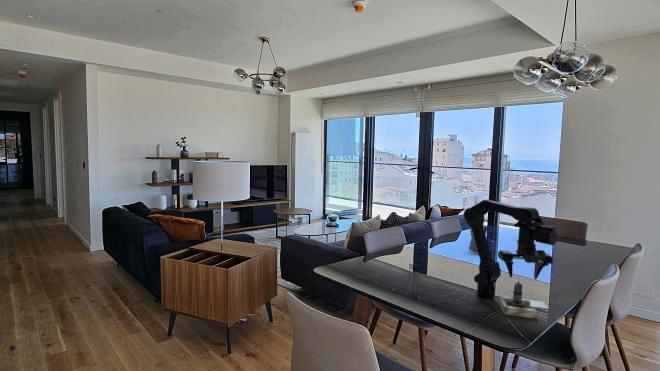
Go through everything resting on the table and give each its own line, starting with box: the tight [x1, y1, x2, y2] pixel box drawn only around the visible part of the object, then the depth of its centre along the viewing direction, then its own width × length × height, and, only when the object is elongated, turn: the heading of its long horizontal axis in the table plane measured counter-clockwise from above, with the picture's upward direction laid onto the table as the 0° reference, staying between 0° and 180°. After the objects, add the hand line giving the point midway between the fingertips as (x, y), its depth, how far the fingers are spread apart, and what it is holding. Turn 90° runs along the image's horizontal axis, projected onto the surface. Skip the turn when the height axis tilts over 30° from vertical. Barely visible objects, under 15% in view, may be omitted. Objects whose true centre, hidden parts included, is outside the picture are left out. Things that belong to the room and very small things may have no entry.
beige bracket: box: [497, 296, 538, 319], centre depth 148 cm, size 11×11×3 cm
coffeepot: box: [468, 224, 488, 252], centre depth 247 cm, size 15×9×18 cm, turn 118°
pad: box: [528, 299, 550, 310], centre depth 154 cm, size 7×7×1 cm
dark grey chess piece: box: [509, 281, 525, 308], centre depth 148 cm, size 6×6×12 cm
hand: (523, 278), depth 148 cm, fingers open, 9 cm apart
